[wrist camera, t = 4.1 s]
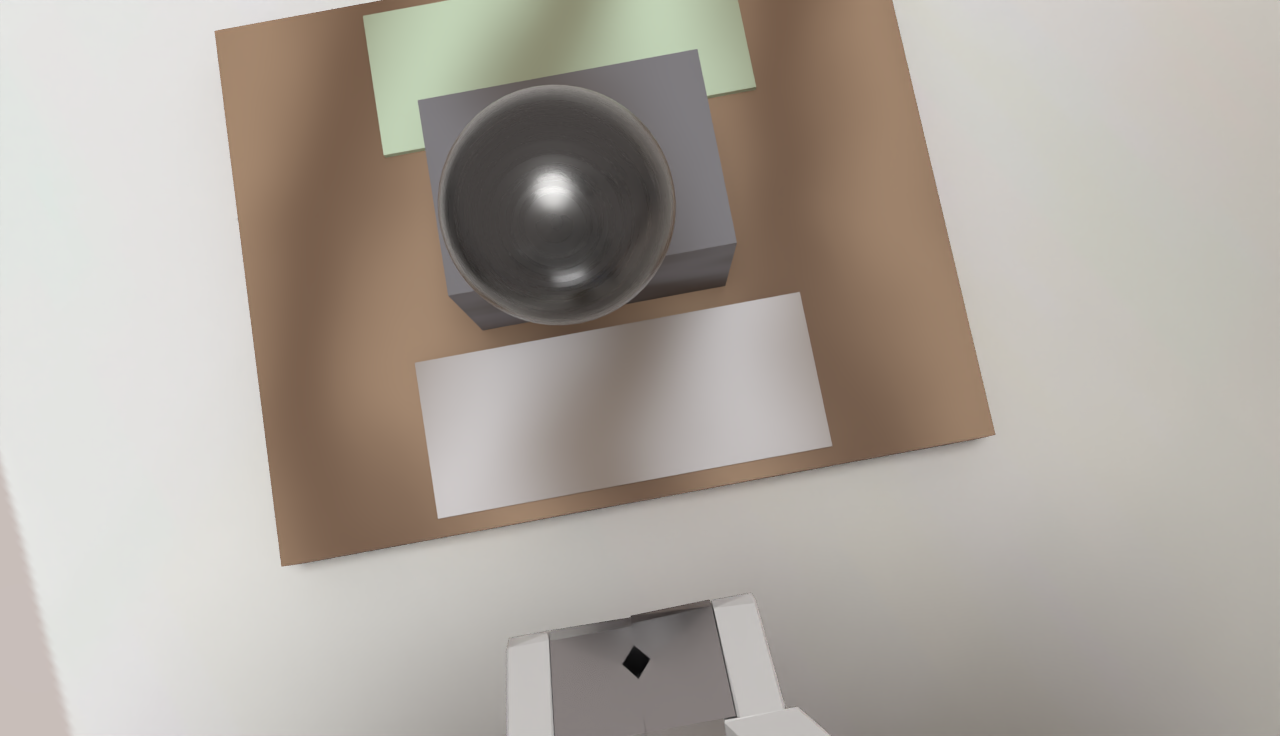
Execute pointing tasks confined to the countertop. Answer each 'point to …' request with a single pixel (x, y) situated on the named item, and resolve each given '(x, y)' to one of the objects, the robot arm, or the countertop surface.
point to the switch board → (624, 339)
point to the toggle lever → (556, 204)
